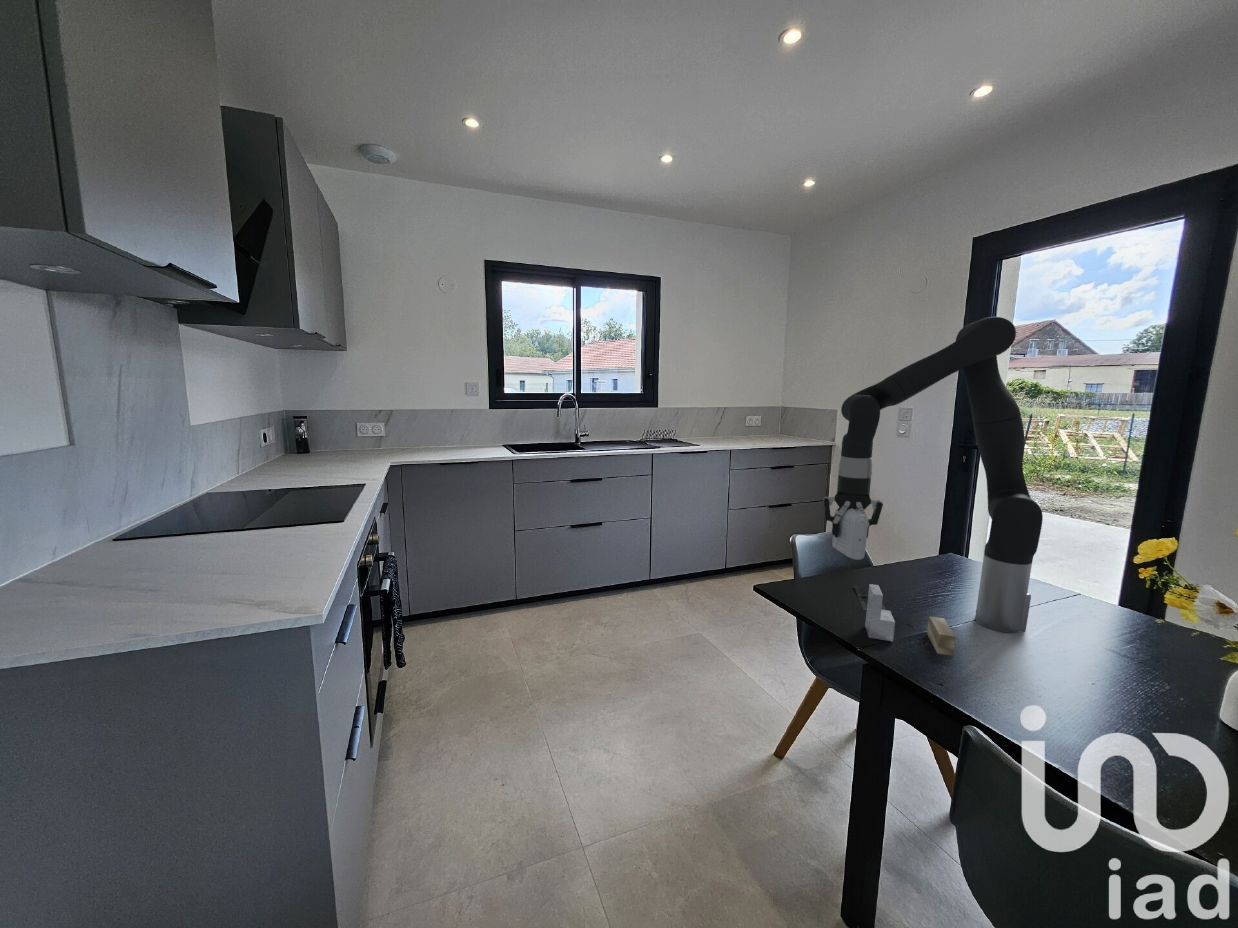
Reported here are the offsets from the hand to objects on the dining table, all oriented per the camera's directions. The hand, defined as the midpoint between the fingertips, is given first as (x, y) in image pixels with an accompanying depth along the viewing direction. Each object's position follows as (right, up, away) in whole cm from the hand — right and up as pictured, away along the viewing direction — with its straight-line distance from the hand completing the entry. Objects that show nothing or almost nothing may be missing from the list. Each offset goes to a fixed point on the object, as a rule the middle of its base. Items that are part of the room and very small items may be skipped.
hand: (849, 537), depth 125 cm
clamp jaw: (+2, -21, -11) cm, 24 cm away
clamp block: (+14, -22, -15) cm, 30 cm away
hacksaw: (+10, -20, +4) cm, 23 cm away
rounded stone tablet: (0, -4, +1) cm, 4 cm away
